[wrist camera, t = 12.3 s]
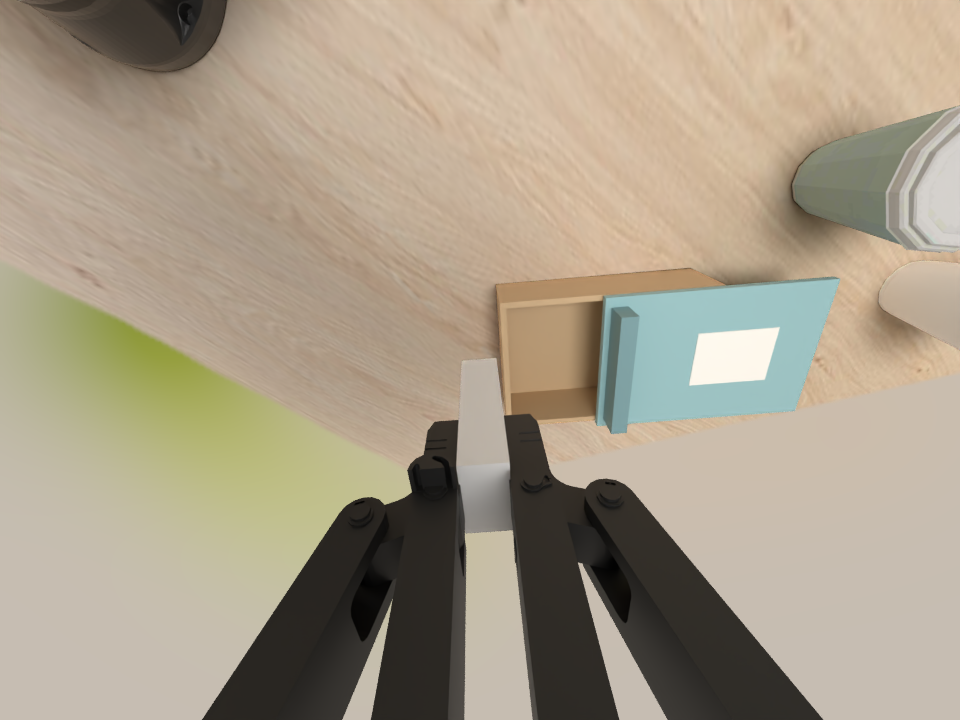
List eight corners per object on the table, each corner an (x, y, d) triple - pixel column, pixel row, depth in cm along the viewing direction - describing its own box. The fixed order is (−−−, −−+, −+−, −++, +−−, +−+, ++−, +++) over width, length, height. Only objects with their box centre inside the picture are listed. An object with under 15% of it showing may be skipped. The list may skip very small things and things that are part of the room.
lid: (595, 421, 44) (604, 441, 41) (603, 295, 37) (616, 307, 34) (789, 407, 44) (814, 426, 40) (833, 276, 37) (867, 287, 34)
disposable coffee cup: (789, 250, 43) (934, 288, 29) (750, 168, 39) (897, 168, 26) (890, 182, 40) (1102, 190, 26) (859, 86, 36) (1088, 38, 23)
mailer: (502, 395, 51) (507, 427, 45) (495, 284, 44) (499, 303, 38) (671, 382, 50) (698, 412, 44) (690, 268, 44) (725, 284, 37)
